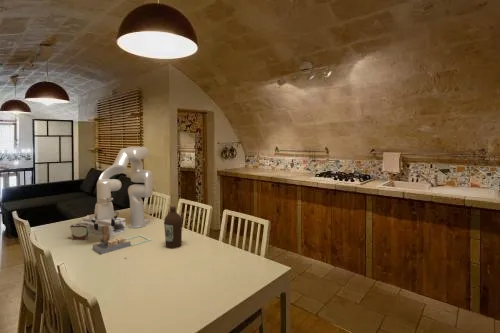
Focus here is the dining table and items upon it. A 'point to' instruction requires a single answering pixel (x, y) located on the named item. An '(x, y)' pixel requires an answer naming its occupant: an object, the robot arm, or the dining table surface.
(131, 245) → the tray
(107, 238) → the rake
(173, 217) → the olive oil
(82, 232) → the food container
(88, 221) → the aluminum extrusion profile
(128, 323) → the dining table surface
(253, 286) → the dining table surface
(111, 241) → the block
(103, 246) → the channel
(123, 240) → the block
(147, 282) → the dining table surface
